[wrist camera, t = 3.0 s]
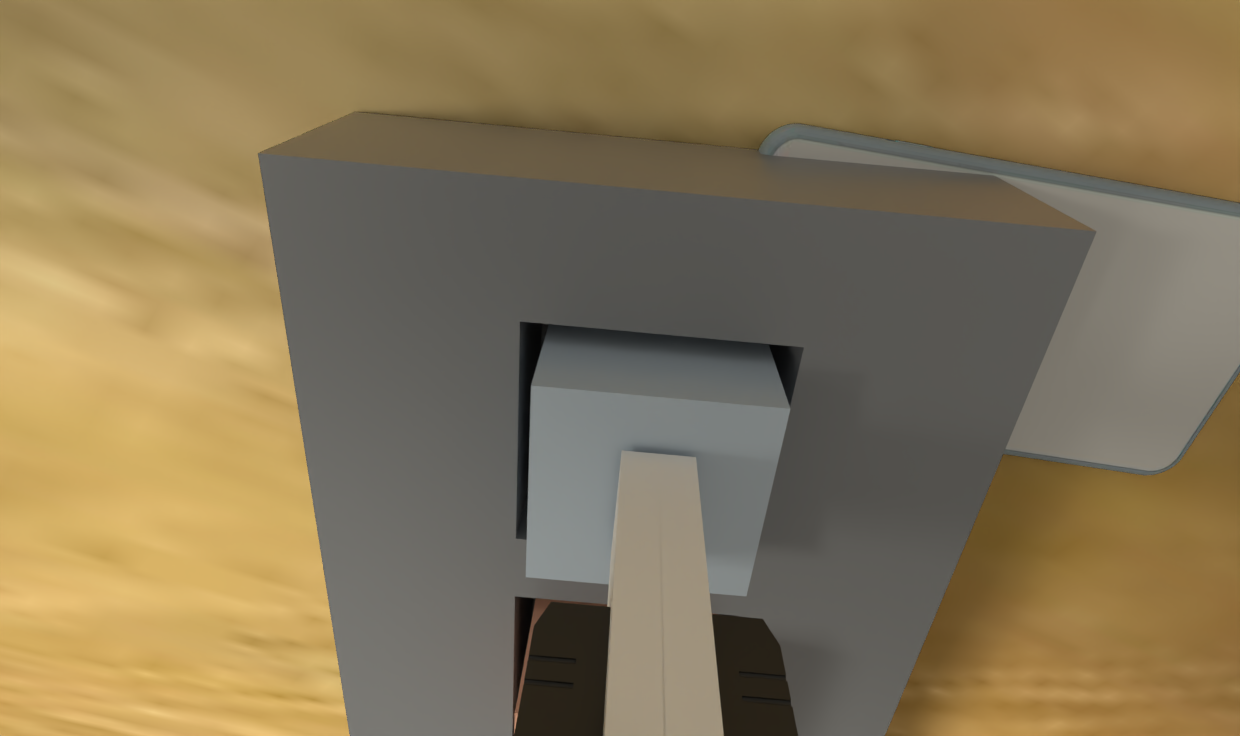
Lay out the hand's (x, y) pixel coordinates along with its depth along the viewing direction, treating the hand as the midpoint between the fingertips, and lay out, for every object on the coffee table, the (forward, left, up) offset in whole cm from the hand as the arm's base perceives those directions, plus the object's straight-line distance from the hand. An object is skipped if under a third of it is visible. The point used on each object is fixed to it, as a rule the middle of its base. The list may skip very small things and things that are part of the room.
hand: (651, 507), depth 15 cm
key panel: (0, -8, -7) cm, 11 cm away
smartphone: (+9, +2, -8) cm, 12 cm away
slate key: (0, 0, -4) cm, 4 cm away
